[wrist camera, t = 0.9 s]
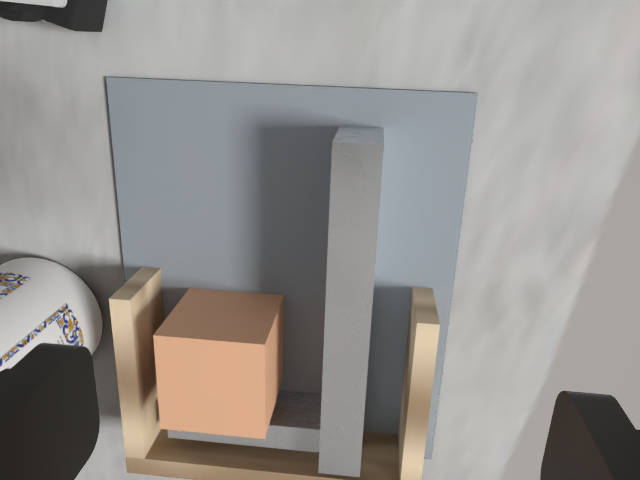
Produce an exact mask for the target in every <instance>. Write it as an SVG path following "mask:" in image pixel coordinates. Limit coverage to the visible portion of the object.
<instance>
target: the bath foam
mask: <svg viewBox="0 0 640 480" xmlns="http://www.w3.org/2000/svg"><path fill="white" fill-rule="evenodd" d="M102 329H103V322H102V315H101V311H100V307H99V305H98V302H97V300H96V298H95V296H94V295H93V293H92V291H91V290H90V289H89V287H88V286H87V285H86V284H85V283H84V282H83V281H82V280H81V279H80V278H79V277H78V276H77V275H76V274H75V273H73V272H72V271H70V270H69V269H67V268H65V267H64V266H62V265H60V264H57V263H55V262H52V261H49V260H45V259H40V258H19V259H14V260H11V261H8V262H5V263H3V264H1V265H0V371H2V370H4V369H11V368H12V367H13V366H14V365H15V364H16V363H18V362H19V361H20V360H21V359H22V358H23V357H24V356H25V355H26V354H28V353H29V352H30V351H31V350H32V349H33V348H34V347H36V346H37V345H38V344H40V343H52V344H64V345H75V346H84V347H87V348H88V349H89V351H90V353H91V356H92V354H93V353H94V352H95V350H96V349H97V347H98V345H99V343H100V340H101V336H102Z"/></svg>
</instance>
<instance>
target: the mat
mask: <svg viewBox="0 0 640 480" xmlns="http://www.w3.org/2000/svg"><path fill="white" fill-rule="evenodd" d="M106 83H107V94H108V104H109V115H110V126H111V136H112V147H113V158H114V168H115V179H116V190H117V200H118V211H119V222H120V232H121V243H122V254H123V264H124V275H125V283H126V282H127V281H128V280H129V279H130V278H131V277H132V276H133V275H134V274H135V273H136V272H137V271H138V270H139V269H141V268H142V267H149V268H161V280H162V295H163V309H164V321H165V319H166V318H167V317H168V315H169V314H170V313H171V312H172V310H173V309H174V308H175V306H176V305H177V304H178V302H179V301H180V300H181V299H182V297H183V296H184V295H185V293H186V292H187V291H188V289H189V288H196V289H210V290H223V291H236V292H249V293H262V294H275V295H284V323H283V379H282V382H281V386H280V389H279V390H286V391H297V392H308V393H319V394H322V373H323V349H324V325H325V301H326V277H327V252H328V228H329V204H330V180H331V156H332V141H333V139H334V137H335V135H336V133H337V131H338V129H339V127H340V126H356V127H376V128H384V154H383V168H382V181H381V195H380V209H379V222H378V236H377V249H376V263H375V277H374V290H373V304H372V318H371V331H370V345H369V358H368V372H367V386H366V399H365V413H364V426H363V431H370V432H380V433H391V434H398V426H399V416H400V406H401V396H402V386H403V376H404V366H405V356H406V346H407V336H408V326H409V316H410V306H411V296H412V287H421V288H433V293H434V298H435V302H436V307H437V312H438V317H439V322H440V330H439V338H438V347H437V355H436V363H435V371H434V379H433V388H432V396H431V404H430V412H429V421H428V429H427V437H426V445H425V454H424V459H431V458H432V450H433V442H434V434H435V427H436V419H437V411H438V403H439V395H440V387H441V379H442V372H443V364H444V356H445V348H446V340H447V332H448V324H449V316H450V309H451V301H452V293H453V285H454V277H455V269H456V261H457V254H458V246H459V238H460V230H461V222H462V214H463V206H464V198H465V191H466V183H467V175H468V167H469V159H470V151H471V143H472V136H473V128H474V120H475V112H476V104H477V96H478V93H465V92H442V91H420V90H397V89H374V88H351V87H328V86H305V85H282V84H259V83H236V82H213V81H190V80H167V79H144V78H121V77H106Z"/></svg>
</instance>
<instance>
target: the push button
mask: <svg viewBox="0 0 640 480" xmlns="http://www.w3.org/2000/svg"><path fill="white" fill-rule="evenodd" d="M106 6H107V0H0V17H2V18H4V19H8V20H12V21H25V22H36V21H40V22H43V23H46V24H47V23H48V24H56V25H59V26H61V27H64V28H67V29H70V30H74V31H89V32H102V28H103V22H104V17H105V11H106Z"/></svg>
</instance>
